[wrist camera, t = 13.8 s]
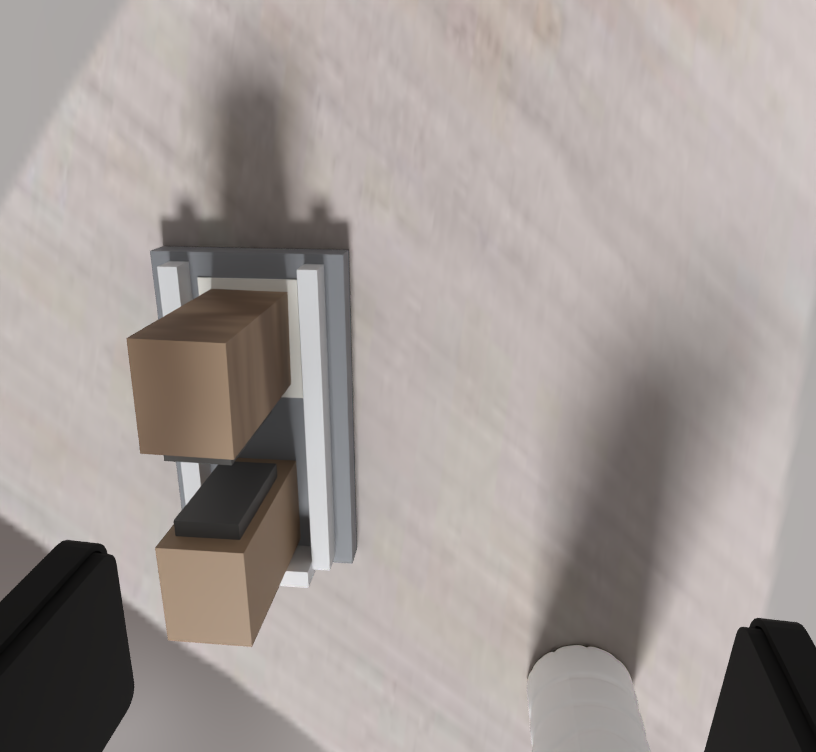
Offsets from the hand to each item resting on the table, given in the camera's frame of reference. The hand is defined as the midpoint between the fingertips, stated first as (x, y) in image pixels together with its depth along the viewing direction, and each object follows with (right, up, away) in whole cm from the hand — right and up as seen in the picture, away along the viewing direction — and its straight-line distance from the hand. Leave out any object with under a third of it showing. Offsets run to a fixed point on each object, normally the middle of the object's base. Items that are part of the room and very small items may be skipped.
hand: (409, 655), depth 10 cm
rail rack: (-8, +2, +29) cm, 30 cm away
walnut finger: (-8, +6, +26) cm, 28 cm away
